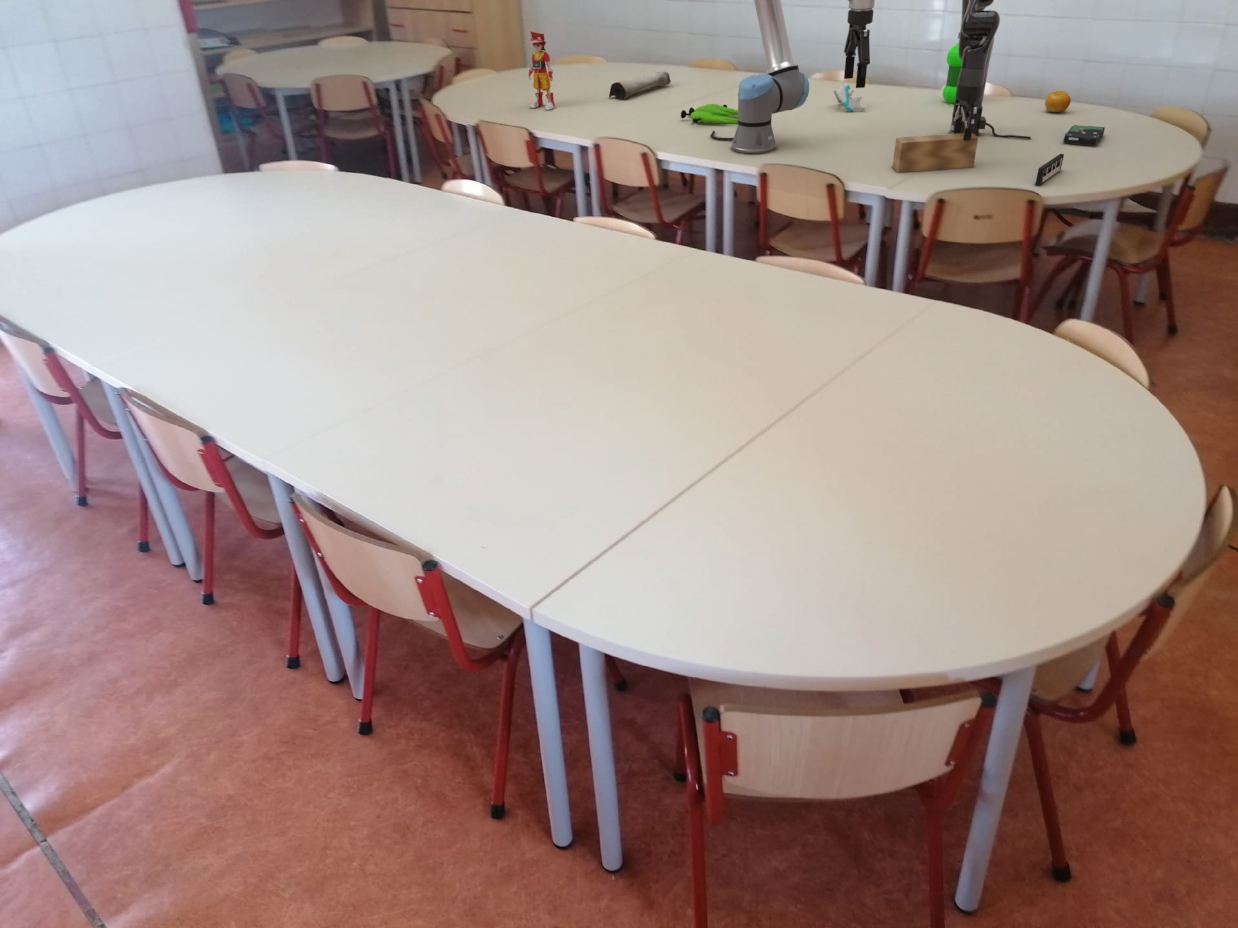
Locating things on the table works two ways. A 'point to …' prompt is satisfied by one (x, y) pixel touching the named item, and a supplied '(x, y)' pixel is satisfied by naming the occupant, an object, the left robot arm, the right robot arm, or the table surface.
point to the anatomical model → (847, 98)
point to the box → (934, 152)
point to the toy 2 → (711, 114)
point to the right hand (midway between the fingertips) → (961, 137)
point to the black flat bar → (1049, 169)
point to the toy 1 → (541, 71)
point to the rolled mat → (638, 84)
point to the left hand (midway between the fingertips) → (854, 83)
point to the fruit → (1057, 101)
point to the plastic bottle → (952, 74)
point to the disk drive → (1084, 135)
